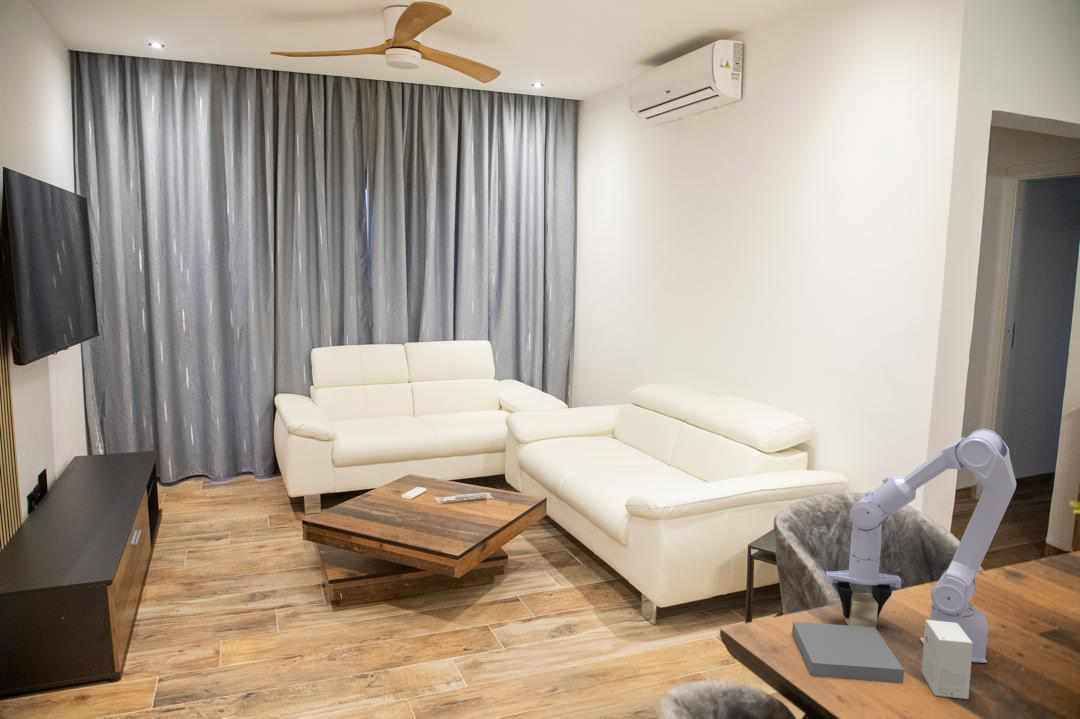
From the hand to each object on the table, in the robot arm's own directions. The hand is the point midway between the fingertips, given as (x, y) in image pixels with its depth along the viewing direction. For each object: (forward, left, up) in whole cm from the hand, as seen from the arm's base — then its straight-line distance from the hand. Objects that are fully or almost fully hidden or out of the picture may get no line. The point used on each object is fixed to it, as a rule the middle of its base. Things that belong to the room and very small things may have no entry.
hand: (860, 617), depth 157 cm
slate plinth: (+7, +14, -2) cm, 16 cm away
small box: (-8, +22, -2) cm, 23 cm away
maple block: (0, 0, -2) cm, 2 cm away
